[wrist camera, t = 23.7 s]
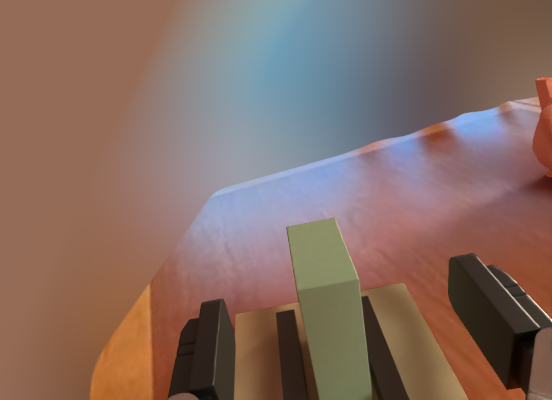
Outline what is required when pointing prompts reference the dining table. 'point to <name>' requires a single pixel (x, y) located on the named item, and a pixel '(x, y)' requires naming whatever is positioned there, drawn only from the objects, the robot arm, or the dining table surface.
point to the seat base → (394, 328)
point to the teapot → (544, 125)
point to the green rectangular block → (330, 310)
